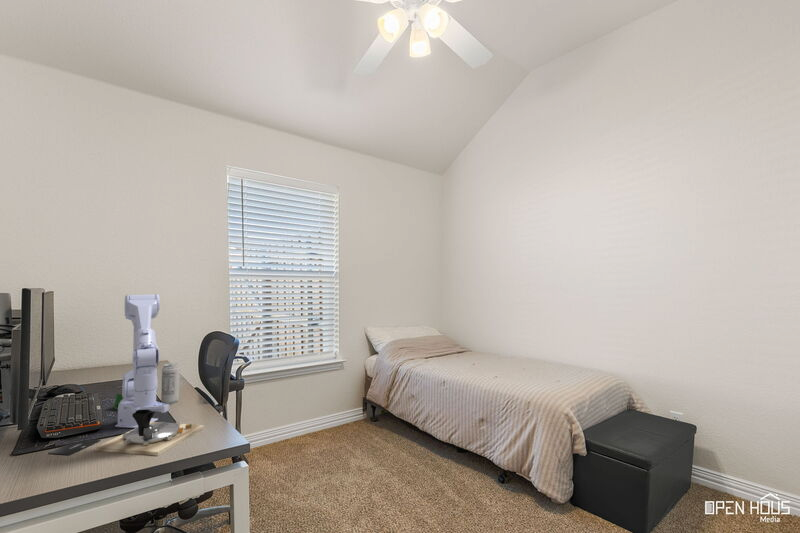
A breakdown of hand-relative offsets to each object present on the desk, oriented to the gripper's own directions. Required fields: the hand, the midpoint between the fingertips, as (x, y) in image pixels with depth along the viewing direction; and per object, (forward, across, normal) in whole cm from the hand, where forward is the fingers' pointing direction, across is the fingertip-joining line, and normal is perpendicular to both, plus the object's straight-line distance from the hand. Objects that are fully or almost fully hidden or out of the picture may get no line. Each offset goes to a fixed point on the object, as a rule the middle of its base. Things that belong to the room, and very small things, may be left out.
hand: (143, 434), depth 116 cm
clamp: (+4, -29, +28) cm, 41 cm away
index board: (+3, -1, +5) cm, 6 cm away
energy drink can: (+4, -21, +37) cm, 43 cm away
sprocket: (+2, -1, +5) cm, 5 cm away
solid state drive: (+4, -19, -4) cm, 20 cm away
